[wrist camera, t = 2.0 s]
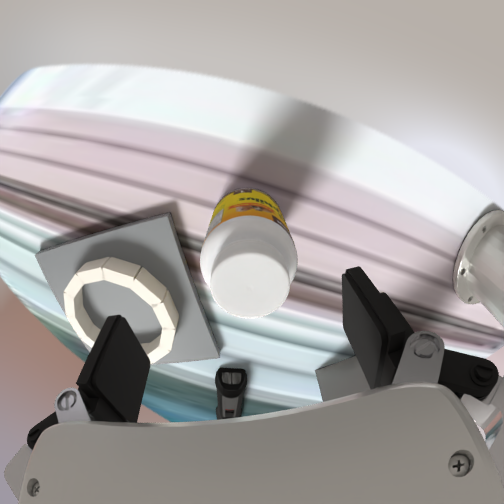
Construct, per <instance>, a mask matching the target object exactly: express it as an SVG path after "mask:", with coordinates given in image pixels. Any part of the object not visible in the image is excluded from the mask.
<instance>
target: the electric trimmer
mask: <svg viewBox="0 0 504 504" xmlns="http://www.w3.org/2000/svg"><path fill="white" fill-rule="evenodd" d="M215 384H216V388H217V398H218V407H217V408H216V415H217V420H220V419H230V418H238V417H241V413H242V409H241V405H242V400H243V396H244V391H245V388H246V385H247V374H246V373H245V370H244V369H236V368H220V369H218V371H217V372H216V377H215Z"/></svg>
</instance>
